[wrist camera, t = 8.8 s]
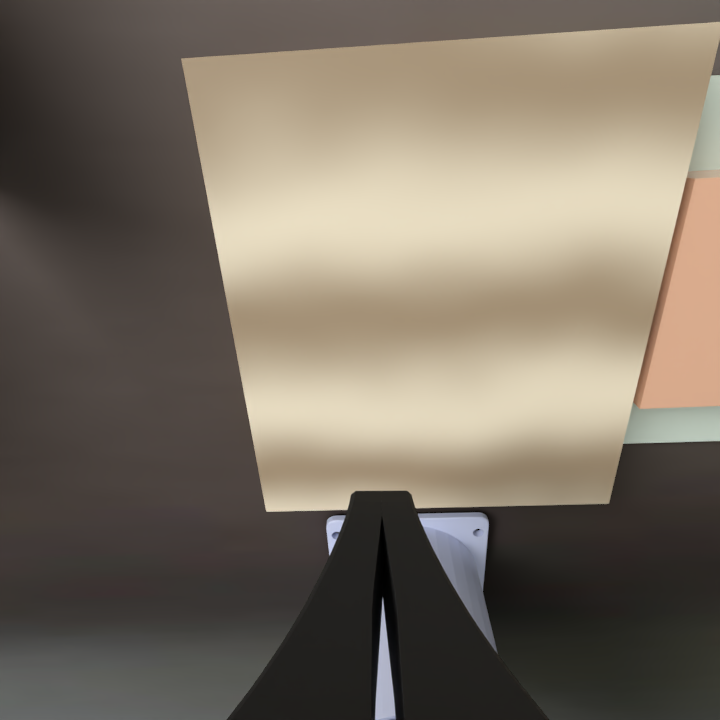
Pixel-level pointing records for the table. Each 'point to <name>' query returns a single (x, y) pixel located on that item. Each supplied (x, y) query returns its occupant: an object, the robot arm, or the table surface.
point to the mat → (686, 424)
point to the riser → (447, 254)
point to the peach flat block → (687, 307)
